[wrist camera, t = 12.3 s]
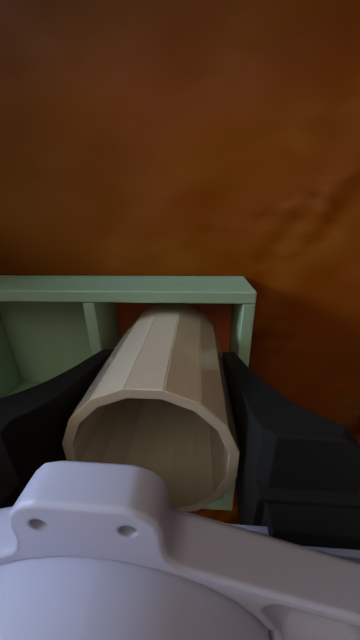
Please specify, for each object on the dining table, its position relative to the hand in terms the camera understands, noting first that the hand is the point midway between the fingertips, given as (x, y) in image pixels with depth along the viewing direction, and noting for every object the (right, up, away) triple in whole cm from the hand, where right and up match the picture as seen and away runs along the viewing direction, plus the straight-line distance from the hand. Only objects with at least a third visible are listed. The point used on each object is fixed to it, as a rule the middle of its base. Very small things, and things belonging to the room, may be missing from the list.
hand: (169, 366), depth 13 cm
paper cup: (0, +1, +2) cm, 2 cm away
